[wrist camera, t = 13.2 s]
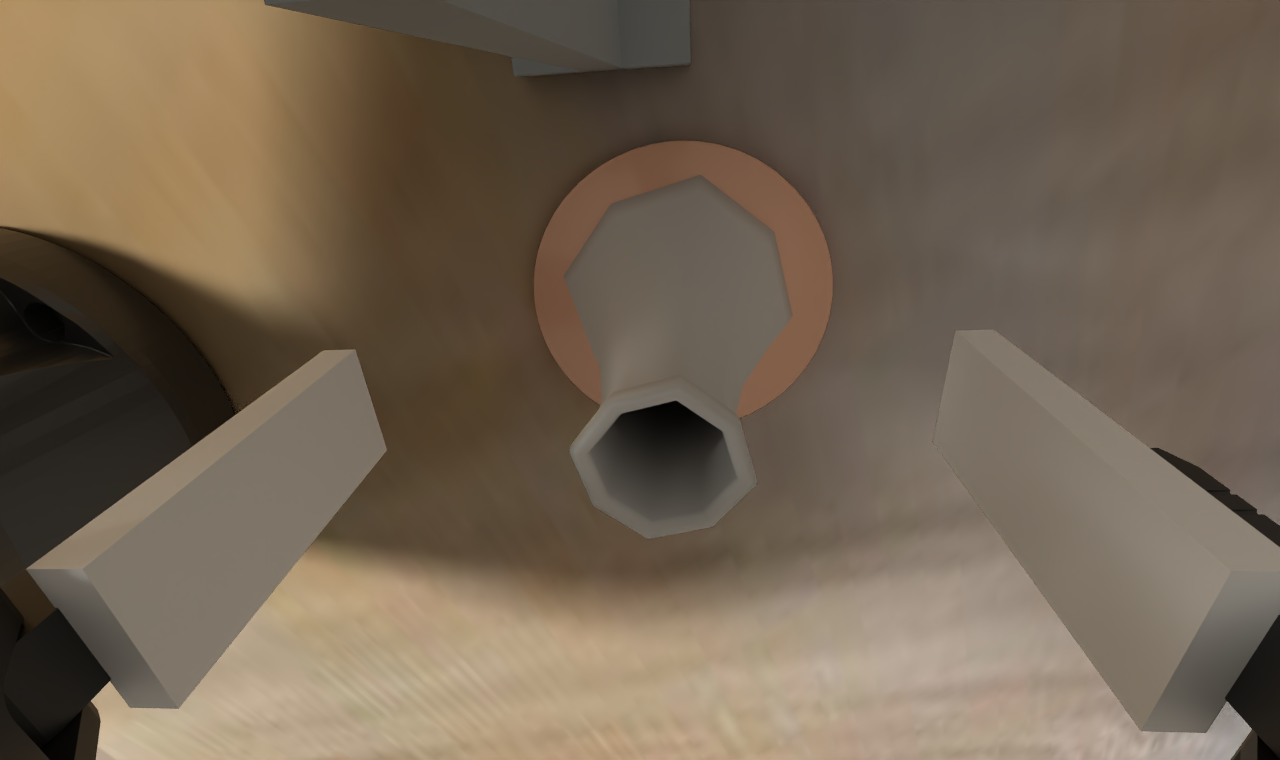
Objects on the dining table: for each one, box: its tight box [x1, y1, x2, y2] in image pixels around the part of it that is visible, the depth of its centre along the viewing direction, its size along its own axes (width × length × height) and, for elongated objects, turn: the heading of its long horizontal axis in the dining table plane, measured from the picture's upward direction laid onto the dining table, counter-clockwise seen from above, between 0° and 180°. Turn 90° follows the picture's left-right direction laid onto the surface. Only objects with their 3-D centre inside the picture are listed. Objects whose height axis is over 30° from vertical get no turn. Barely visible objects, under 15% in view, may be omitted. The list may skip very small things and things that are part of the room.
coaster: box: [534, 140, 833, 418], centre depth 19 cm, size 10×10×1 cm
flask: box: [564, 175, 793, 539], centre depth 14 cm, size 7×7×10 cm
